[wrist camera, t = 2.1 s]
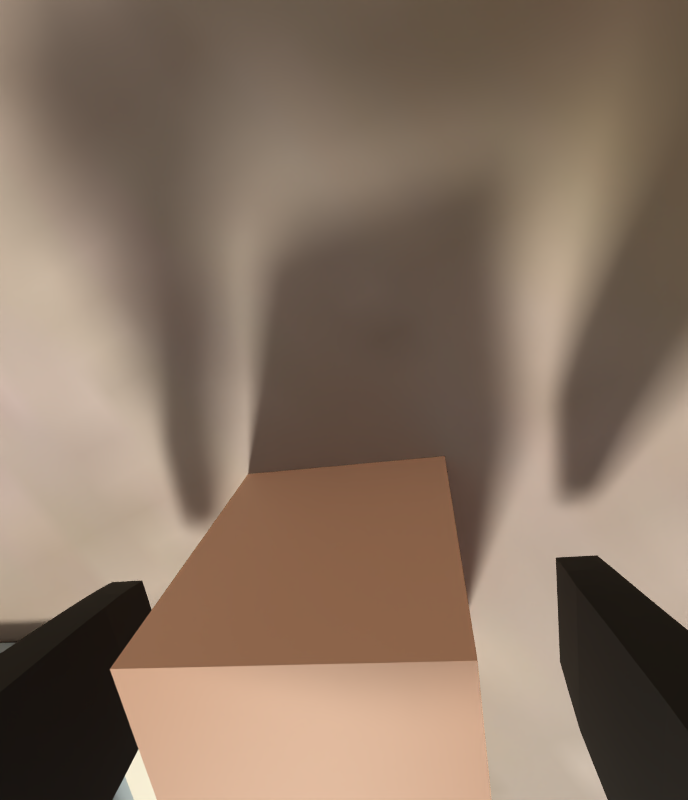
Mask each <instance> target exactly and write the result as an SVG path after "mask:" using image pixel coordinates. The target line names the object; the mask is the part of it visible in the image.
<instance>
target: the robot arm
mask: <svg viewBox="0 0 688 800" xmlns="http://www.w3.org/2000/svg"><path fill="white" fill-rule="evenodd" d="M556 571H557V596H558V621H559V646H560V663H561V666H562V670H563V673H564V677H565V680H566V684H567V687H568V691H569V694H570V698H571V701H572V705H573V708H574V711H575V715H576V718H577V721H578V725H579V728H580V731H581V734H582V736H583V739H584V741H585V744H586V746H587V749H588V751H589V754H590V756H591V759H592V761H593V764H594V766H595V769H596V771H597V774H598V776H599V779H600V781H601V784H602V786H603V789H604V791H605V794H606V796H607V799H608V800H688V630H687V629H686V628H685V627H683V626H682V625H681V624H680V623H678V622H677V621H676V620H675V619H673V618H672V617H671V616H670V615H668V614H667V613H666V612H665V611H664V610H662V609H661V608H660V607H659V606H657V605H656V604H655V603H654V602H653V601H651V600H650V599H649V598H648V597H647V596H645V595H644V594H643V593H642V592H641V591H639V590H638V589H637V588H636V587H635V586H633V585H632V584H631V583H630V582H629V581H627V580H626V579H625V578H624V577H623V576H621V575H620V574H619V573H618V572H616V571H615V570H614V569H613V568H612V567H610V566H609V565H608V564H607V563H606V562H604V561H603V560H602V559H601V558H599V557H598V556H579V557H561V558H556ZM150 612H151V607H150V604H149V601H148V598H147V594H146V591H145V588H144V585H143V582H142V581H127V582H112V583H110V584H108V585H106V586H105V587H103V588H101V589H99V590H97V591H96V592H94V593H92V594H91V595H89V596H87V597H86V598H84V599H82V600H81V601H79V602H78V603H76V604H75V605H73V606H71V607H70V608H68V609H67V610H65V611H64V612H62V613H61V614H59V615H58V616H56V617H54V618H53V619H51V620H50V621H48V622H47V623H45V624H44V625H42V626H41V627H39V628H38V629H36V630H35V631H33V632H32V633H30V634H29V635H27V636H26V637H24V638H23V639H21V640H20V641H18V642H17V643H15V644H14V645H12V646H11V647H9V648H8V649H6V650H5V651H3V652H2V653H0V800H113V798H114V796H115V794H116V792H117V790H118V788H119V786H120V785H121V783H122V781H123V779H124V777H125V775H126V773H127V771H128V769H129V767H130V765H131V763H132V761H133V759H134V757H135V755H136V753H137V751H138V746H137V743H136V741H135V738H134V735H133V732H132V729H131V727H130V724H129V721H128V718H127V716H126V713H125V710H124V707H123V704H122V702H121V699H120V696H119V693H118V691H117V688H116V685H115V682H114V679H113V677H112V674H111V671H110V668H111V667H112V665H113V664H114V663H115V661H116V660H117V658H118V657H119V655H120V654H121V653H122V651H123V650H124V648H125V647H126V646H127V644H128V643H129V641H130V640H131V639H132V637H133V636H134V634H135V633H136V632H137V630H138V629H139V627H140V626H141V624H142V623H143V622H144V620H145V619H146V617H147V616H148V615H149V613H150Z"/></svg>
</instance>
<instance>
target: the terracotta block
mask: <svg viewBox="0 0 688 800" xmlns="http://www.w3.org/2000/svg"><path fill="white" fill-rule="evenodd" d="M110 671H111V674H112V677H113V679H114V682H115V685H116V688H117V691H118V693H119V696H120V699H121V702H122V704H123V707H124V710H125V713H126V716H127V718H128V721H129V724H130V727H131V729H132V732H133V735H134V738H135V741H136V743H137V746H138V749H139V752H140V754H141V757H142V760H143V763H144V766H145V768H146V771H147V774H148V777H149V779H150V782H151V785H152V788H153V791H154V793H155V796H156V799H157V800H491V790H490V780H489V770H488V760H487V751H486V741H485V731H484V721H483V711H482V701H481V691H480V681H479V671H478V661H477V655H476V649H475V642H474V636H473V630H472V624H471V617H470V611H469V605H468V599H467V593H466V586H465V580H464V574H463V568H462V561H461V555H460V549H459V543H458V537H457V530H456V524H455V518H454V512H453V505H452V499H451V493H450V487H449V480H448V474H447V468H446V462H445V456H441V457H430V458H419V459H408V460H397V461H386V462H375V463H364V464H353V465H342V466H331V467H320V468H309V469H298V470H287V471H276V472H265V473H254V474H248V475H247V477H246V478H245V479H244V481H243V482H242V484H241V485H240V486H239V488H238V489H237V491H236V492H235V494H234V495H233V496H232V498H231V499H230V501H229V502H228V503H227V505H226V506H225V508H224V509H223V510H222V512H221V513H220V515H219V516H218V517H217V519H216V520H215V522H214V523H213V524H212V526H211V527H210V529H209V530H208V532H207V533H206V534H205V536H204V537H203V539H202V540H201V541H200V543H199V544H198V546H197V547H196V548H195V550H194V551H193V553H192V554H191V555H190V557H189V558H188V560H187V561H186V563H185V564H184V565H183V567H182V568H181V570H180V571H179V572H178V574H177V575H176V577H175V578H174V579H173V581H172V582H171V584H170V585H169V586H168V588H167V589H166V591H165V592H164V594H163V595H162V596H161V598H160V599H159V601H158V602H157V603H156V605H155V606H154V608H153V609H152V610H151V612H150V613H149V615H148V616H147V617H146V619H145V620H144V622H143V623H142V624H141V626H140V627H139V629H138V630H137V632H136V633H135V634H134V636H133V637H132V639H131V640H130V641H129V643H128V644H127V646H126V647H125V648H124V650H123V651H122V653H121V654H120V655H119V657H118V658H117V660H116V661H115V663H114V664H113V665H112V667H111V668H110Z"/></svg>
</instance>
